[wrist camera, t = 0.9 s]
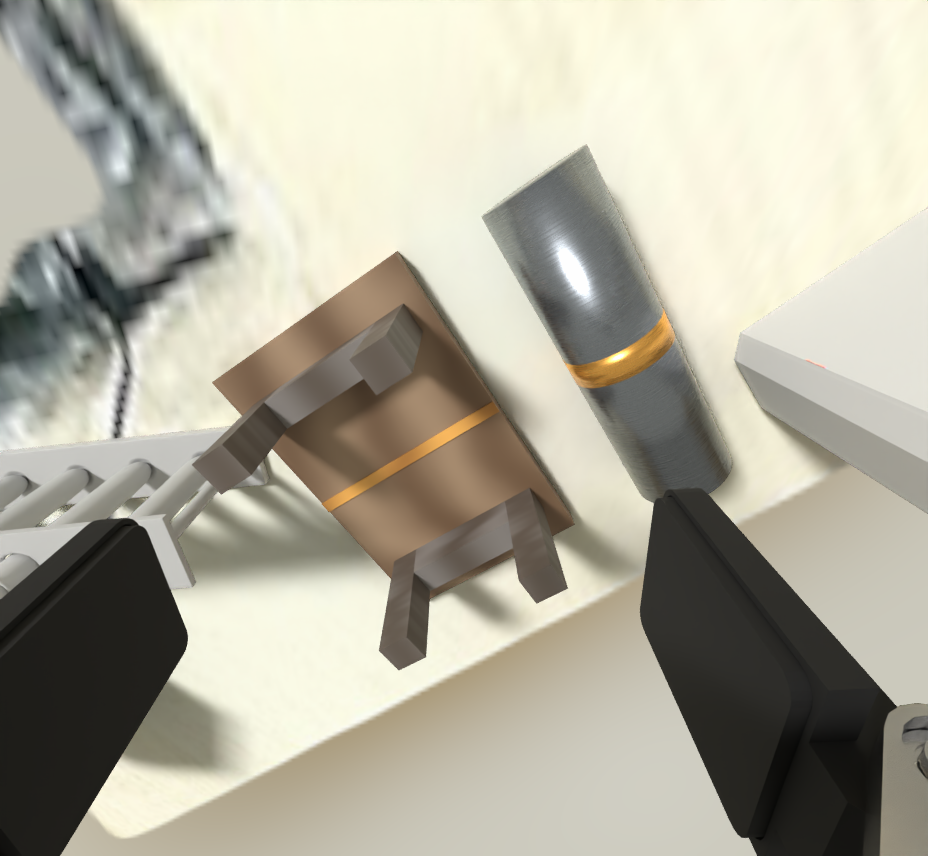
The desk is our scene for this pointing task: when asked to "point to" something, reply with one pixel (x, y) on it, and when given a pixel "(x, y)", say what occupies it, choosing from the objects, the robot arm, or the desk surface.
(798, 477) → the desk surface
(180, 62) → the desk surface
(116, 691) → the robot arm
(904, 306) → the bevelled white case
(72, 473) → the test tube rack
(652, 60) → the desk surface
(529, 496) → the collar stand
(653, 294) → the grey cylinder
